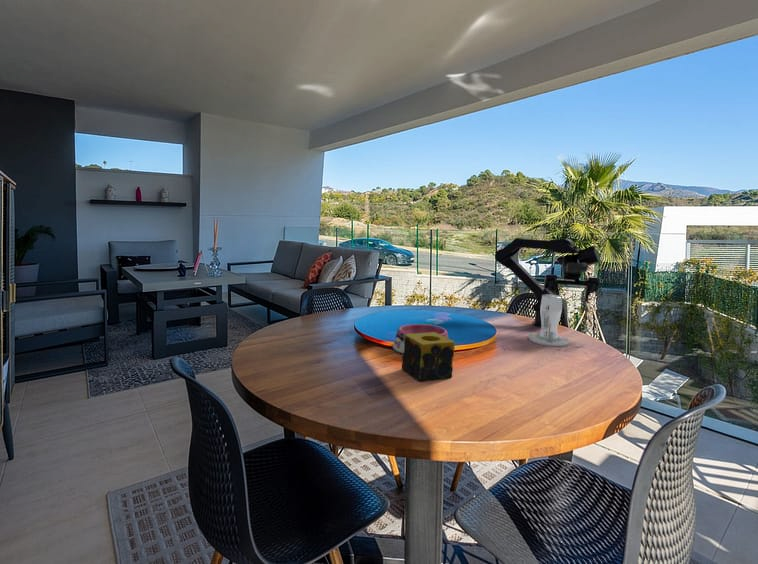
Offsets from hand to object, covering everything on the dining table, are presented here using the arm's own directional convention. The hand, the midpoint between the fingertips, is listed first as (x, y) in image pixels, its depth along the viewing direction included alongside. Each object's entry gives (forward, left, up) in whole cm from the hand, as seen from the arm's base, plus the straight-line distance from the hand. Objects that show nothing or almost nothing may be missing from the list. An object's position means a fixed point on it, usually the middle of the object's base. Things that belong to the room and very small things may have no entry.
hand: (572, 301), depth 153 cm
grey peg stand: (+10, -8, -14) cm, 18 cm away
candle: (+59, -43, -14) cm, 74 cm away
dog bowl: (+37, -48, -14) cm, 63 cm away
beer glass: (+9, -8, -12) cm, 17 cm away
